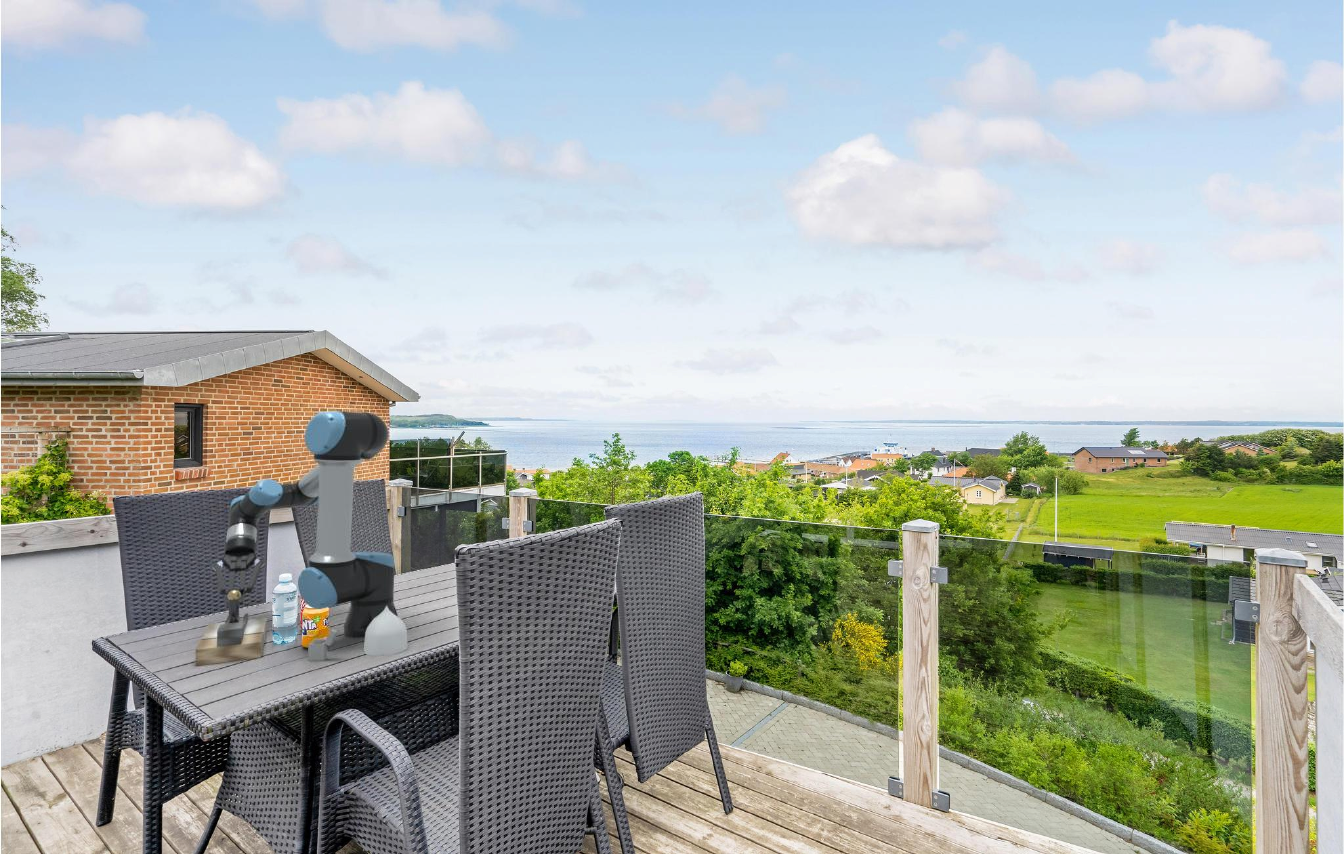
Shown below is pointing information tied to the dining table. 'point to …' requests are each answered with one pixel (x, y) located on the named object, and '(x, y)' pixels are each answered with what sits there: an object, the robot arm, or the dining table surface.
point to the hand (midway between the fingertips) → (233, 614)
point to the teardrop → (385, 635)
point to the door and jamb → (232, 641)
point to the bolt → (233, 606)
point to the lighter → (321, 647)
